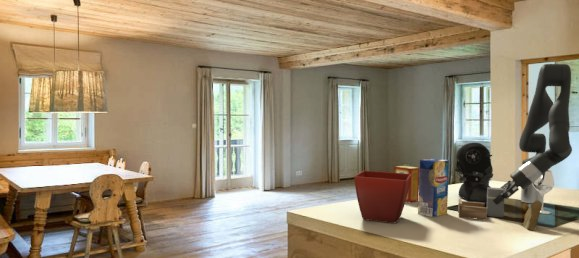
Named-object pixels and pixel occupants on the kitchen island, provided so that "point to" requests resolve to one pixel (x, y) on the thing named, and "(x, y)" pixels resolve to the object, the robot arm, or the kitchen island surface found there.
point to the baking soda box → (414, 181)
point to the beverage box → (433, 187)
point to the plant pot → (381, 195)
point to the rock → (532, 215)
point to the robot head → (474, 172)
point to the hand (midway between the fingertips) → (493, 201)
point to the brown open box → (472, 209)
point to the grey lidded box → (491, 206)
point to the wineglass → (544, 186)
